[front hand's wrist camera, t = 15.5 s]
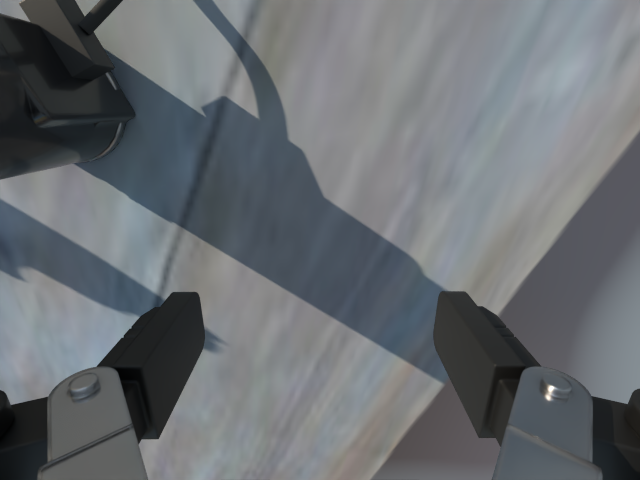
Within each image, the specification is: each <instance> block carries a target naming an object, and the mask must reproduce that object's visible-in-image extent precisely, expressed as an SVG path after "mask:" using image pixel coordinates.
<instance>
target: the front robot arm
mask: <svg viewBox="0 0 640 480" xmlns="http://www.w3.org/2000/svg"><path fill="white" fill-rule="evenodd" d="M122 1H123V0H100V1H99V2H98V3H97V5H96V6H95V7H94V8H93V9H92V10H91V11H90V12H89V13H88V14H87V15H86V16H85V17H84V15H83V13H82V11H81V10H80V8H79V6H78V5H77V3H76V1H75V0H23V1H21V2H20V3H19V4H20V6H21V7H22V9H23V11H24V12H25V14H26V15H27V17H28V18H29V20H30V21H31V22H28V21H25V20H21V19H18V18H14V17H11V16H7V15H4V14H1V13H0V180H1V179H5V178H10V177H14V176H19V175H24V174H28V173H33V172H37V171H42V170H47V169H51V168H56V167H61V166H64V165H68V164H73V163H83V162H89V161H93V160H97V159H100V158H102V157H104V156H106V155H107V154H109V153H110V152H111V151H112V150H113V149H114V148H115V147H116V146H117V145H118V143H119V141H120V140H121V138H122V135H123V132H124V129H125V124H126V122H127V121H128V120H130V119H132V118H134V117H135V112H134V111H133V109H132V107H131V106H130V104H129V102H128V101H127V99H126V97H125V96H124V94H123V92H122V91H121V89H120V87H119V85H118V83H117V81H116V79H115V77H114V76H113V74H112V73H111V70H113V69H114V68H115V67H114V65H113V64H112V62H111V60H110V59H109V57H108V55H107V54H106V52H105V50H104V49H103V47H102V45H101V44H100V42H99V40H98V38H97V37H96V35H95V33H94V30H95V29H96V28H97V27H98V26H99V25H100V24H101V23H102V22H103V21H104V20H105V19H106V18H107V17H108V16H109V14H110V13H111V12H112V11H113V10H114V9H115V8H116V7H117V6H118V5H119V4H120V3H121V2H122ZM204 340H205V331H204V324H203V317H202V310H201V303H200V297H199V294H198V293H197V292H173V293H171V294H170V296H169V297H168V298H167V299H166V300H165V302H164V303H163V304H162V305H161V307H155V308H153V309H151V310H150V311H148V312H147V313H145V314H143V315H142V316H141V317H140V318H139V319H138V320H137V321H136V322H135V323H134V325H133V326H132V328H131V329H129V330H128V331H127V333H126V334H125V335H124V338H121V339H120V340H119V342H118V343H117V344H116V345H115V346H114V347H113V348H112V350H111V351H110V352H109V353H108V354H107V355H106V356H105V358H104V359H103V360H102V361H101V362H100V363H99V364H98V366H97V367H93V368H89V369H85V370H82V371H80V372H77V373H75V374H73V375H71V376H69V377H68V378H66V379H65V380H63V381H62V382H60V383H59V384H58V385H57V386H56V387H55V388H54V389H53V390H52V391H51V393H50V394H49V397H45V398H41V399H36V400H32V401H27V402H23V403H18V404H14V405H10V402H9V400H8V397H7V395H6V393H5V392H3V391H1V390H0V480H148V477H147V473H146V470H145V466H144V463H143V459H142V455H141V452H140V448H139V443H140V441H141V439H159V437H160V435H161V433H162V431H163V429H164V427H165V425H166V423H167V421H168V419H169V417H170V415H171V413H172V411H173V409H174V407H175V405H176V403H177V401H178V399H179V397H180V395H181V393H182V390H183V388H184V386H185V384H186V382H187V380H188V378H189V376H190V374H191V372H192V370H193V368H194V366H195V364H196V362H197V360H198V358H199V356H200V354H201V352H202V350H203V346H204ZM434 344H435V348H436V351H437V353H438V355H439V357H440V359H441V361H442V363H443V365H444V367H445V369H446V371H447V373H448V375H449V378H450V380H451V382H452V384H453V386H454V388H455V390H456V392H457V394H458V396H459V398H460V400H461V402H462V404H463V406H464V408H465V410H466V412H467V414H468V416H469V418H470V420H471V423H472V425H473V427H474V429H475V431H476V433H477V435H478V437H479V438H496V439H497V441H498V443H499V445H500V447H501V448H500V452H499V456H498V459H497V463H496V466H495V470H494V473H493V477H492V480H640V389H637V390H635V391H634V392H633V393H632V395H631V398H630V400H629V402H628V404H624V403H619V402H615V401H611V400H606V399H602V398H597V397H593V396H591V395H590V393H589V391H588V390H587V389H586V388H585V387H584V386H583V385H582V384H581V383H580V382H578V381H577V380H575V379H574V378H572V377H571V376H569V375H567V374H565V373H563V372H560V371H558V370H555V369H551V368H547V367H541V366H540V364H539V363H538V362H537V361H536V360H535V359H534V358H533V356H532V355H531V354H530V353H529V352H528V351H527V350H526V348H525V347H524V346H523V345H522V344H521V343H520V341H519V340H518V339H517V338H516V337H514V335H513V333H512V332H511V331H510V330H509V329H508V328H506V325H505V324H504V323H503V322H502V321H501V320H500V318H499V317H498V316H497V315H495V314H494V313H492V312H491V311H489V310H487V309H486V308H484V307H483V306H477V305H476V304H475V302H474V301H473V300H472V299H471V298H470V296H469V295H468V294H467V293H466V292H464V291H442V292H441V293H440V294H439V297H438V304H437V311H436V318H435V325H434Z"/></svg>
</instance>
